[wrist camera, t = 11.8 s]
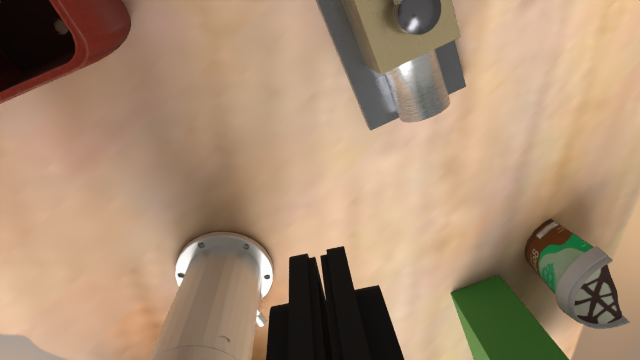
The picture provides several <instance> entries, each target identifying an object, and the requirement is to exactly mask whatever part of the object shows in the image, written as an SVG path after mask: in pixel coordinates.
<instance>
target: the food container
mask: <svg viewBox="0 0 640 360" xmlns="http://www.w3.org/2000/svg"><path fill="white" fill-rule="evenodd" d="M525 257H526V259H527V261H528V263H529V264H530V265H531V266H532V267H533V268H534V270H535V271H536V272H537V273H538V274H539V276H540V277H541V278H542V279H543V280H544V281H545V283H546V284H547V285H548V286H549V287H550V289H551V290H552V291H553V292H554V293H555V294H556V299H557V303H558V305H559V307H560V309H561V310H562V311H563V312H564V313H566V314H567V315H569V316H570V317H571V318H573V319H574V320H576V321H577V322H579V323H581V324H584V325H586V326H588V327H592V328H597V329H606V328H613V327H618V326H622V325H624V324H627V323H629V321H628V320H627V319H626V318H625V317H624V316H623V315H622V312H621V311H620V308H619V304H618V295H617V290H616V287H615V285H614V283H613V280H612V278H611V275H610V272H609V269H608V265H607V264H608V263H610V262H612V261H613V260H612V259H611V258H609V257H608V255H607V254H606V253H605V252H603V251H602V250H601V249H600V248H599V247H597V246H596V247H593V246H591V245H590V244H588V243H587V242H585V241H584V240H582V239H581V238H579V237H578V236H576V235H575V234H573V233H572V232H570V231H569V230H567V229H566V228H564V227H563V226H561V225H560V224H558V223H557V222H555V221H554V220H552V219H550V220H548V221H546V222H544V223H543V224H542V225H541V226H539V227H538V228H537V229H536V230H535V231H534V232H533V233H532V235H531V236H530V238H529V239H528V241H527V244H526V247H525Z"/></svg>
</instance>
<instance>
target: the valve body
mask: <svg viewBox="0 0 640 360" xmlns="http://www.w3.org/2000/svg"><path fill="white" fill-rule="evenodd" d="M316 1H317V4H318V6H319V9H320V11H321V14H322V16H323V19H324V21H325V23H326V26H327V28H328V31H329V33H330V36H331V38H332V40H333V43H334V45H335V48H336V50H337V53H338V55H339V58H340V60H341V62H342V65H343V67H344V70H345V72H346V75H347V77H348V79H349V82H350V84H351V87H352V89H353V92H354V94H355V97H356V99H357V101H358V104H359V106H360V109H361V111H362V114H363V116H364V118H365V121H366V123H367V126H368V128H369V129H370V130H373V129H375V128H377V127H379V126H381V125H384V124H386V123H388V122H390V121H392V120H394V119H397V118H399V117H400V119H401V121H403V122H417V121H421V120H425V119H428V118H430V117H433V116H435V115H437V114H439V113H441V112H442V111H444V110H445V109H446V108H447V107H448V106H449V105H450V99H449V96H448V95H449V94H451V93H453V92H455V91H457V90H460V89H462V88H464V87H466V84H465V80H464V76H463V73H462V69H461V65H460V61H459V57H458V53H457V50H456V46H455V42H454V40H455V39H457V38H459V37H461V36H460V32H459V28H458V24H457V20H456V16H455V12H454V8H453V4H452V0H440V2H441V15H440V18H439V21H438V22H437V24H436V25H435V27H434V28H433V29H432V30H430V31H429V32H427V33H425V34H422V35H412V34H404V33H402V32H400V31H399V30H398V29H397V28H396V27H395V25H394V23H393V20H392V10H393V6H394V2H393V0H316Z"/></svg>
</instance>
